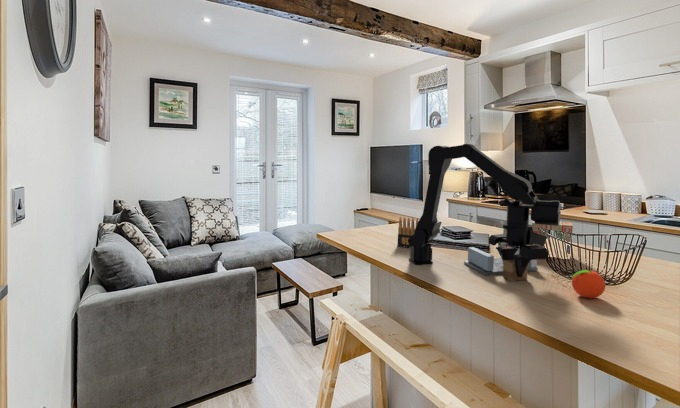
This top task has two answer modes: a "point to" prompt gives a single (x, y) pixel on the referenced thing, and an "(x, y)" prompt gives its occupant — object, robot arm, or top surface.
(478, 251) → the plate
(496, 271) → the vise base
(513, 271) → the walnut block
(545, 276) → the top surface
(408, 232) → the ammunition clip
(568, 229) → the stack of blocks
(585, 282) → the clementine
